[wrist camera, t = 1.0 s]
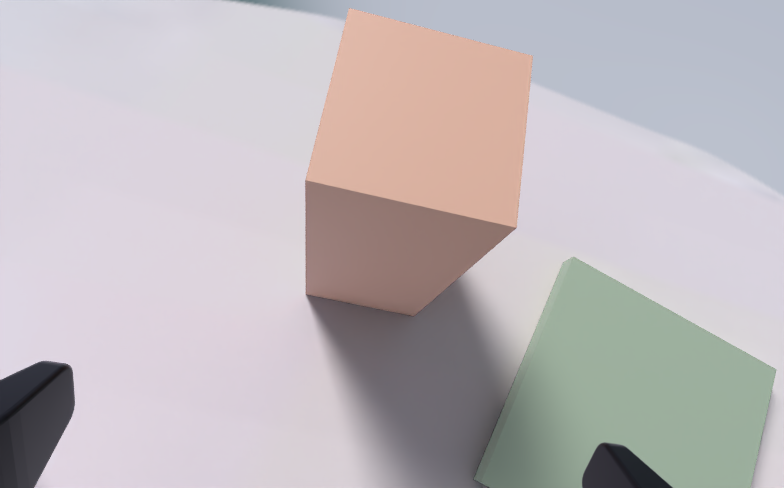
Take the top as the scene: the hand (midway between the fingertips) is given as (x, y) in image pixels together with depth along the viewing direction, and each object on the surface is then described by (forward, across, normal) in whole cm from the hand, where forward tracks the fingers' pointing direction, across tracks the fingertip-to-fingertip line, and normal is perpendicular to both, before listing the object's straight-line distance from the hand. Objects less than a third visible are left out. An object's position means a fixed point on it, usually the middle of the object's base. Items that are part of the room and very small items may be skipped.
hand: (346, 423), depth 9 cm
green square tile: (+11, -14, +8) cm, 19 cm away
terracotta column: (+15, -1, +4) cm, 15 cm away
